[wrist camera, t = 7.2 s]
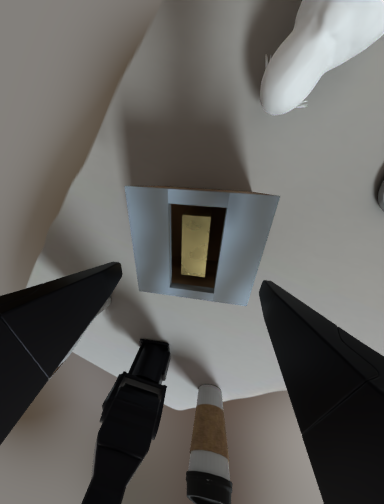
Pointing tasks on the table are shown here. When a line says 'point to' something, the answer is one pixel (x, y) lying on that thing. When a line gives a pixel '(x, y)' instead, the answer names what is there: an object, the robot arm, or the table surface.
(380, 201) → the pocket watch
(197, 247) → the block
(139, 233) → the box
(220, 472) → the coffee cup
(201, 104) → the table surface
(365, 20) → the white animal skull
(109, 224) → the table surface
